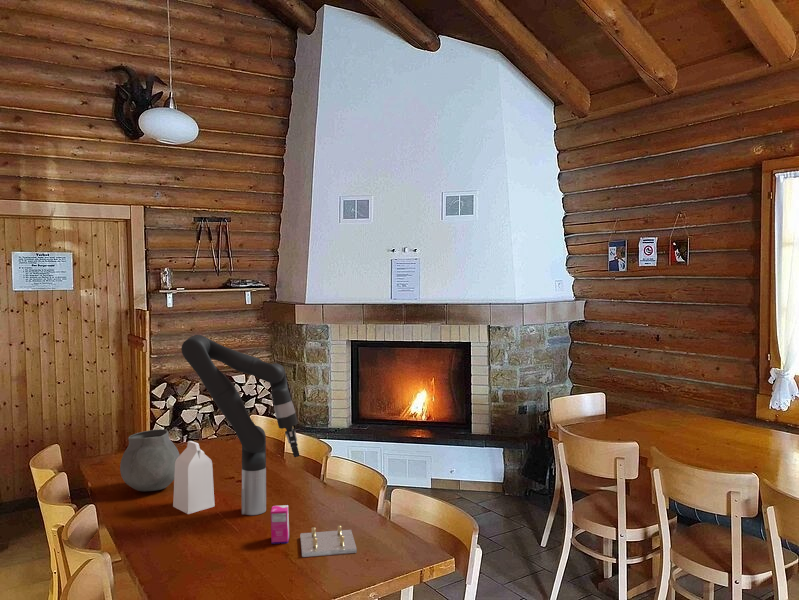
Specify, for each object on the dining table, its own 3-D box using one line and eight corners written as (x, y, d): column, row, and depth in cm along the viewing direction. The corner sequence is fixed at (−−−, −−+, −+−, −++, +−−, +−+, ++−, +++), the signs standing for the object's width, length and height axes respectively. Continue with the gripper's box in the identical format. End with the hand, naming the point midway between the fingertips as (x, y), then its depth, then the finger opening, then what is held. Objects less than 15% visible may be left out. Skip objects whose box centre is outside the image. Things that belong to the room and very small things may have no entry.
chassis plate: (302, 557, 204) (301, 543, 204) (300, 537, 220) (300, 525, 220) (356, 552, 207) (356, 539, 207) (351, 533, 223) (351, 521, 223)
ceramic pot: (136, 480, 283) (135, 425, 283) (189, 480, 283) (188, 426, 282) (109, 498, 259) (108, 439, 258) (167, 499, 258) (166, 439, 257)
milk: (173, 506, 250) (172, 442, 249) (199, 499, 258) (198, 437, 258) (188, 514, 242) (187, 447, 241) (214, 506, 250) (214, 442, 249)
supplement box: (272, 537, 220) (272, 505, 220) (289, 536, 220) (289, 504, 220) (270, 544, 214) (270, 511, 214) (288, 543, 215) (287, 510, 214)
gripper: (275, 414, 248) (285, 453, 248) (276, 419, 234) (287, 461, 234) (293, 408, 249) (303, 447, 250) (296, 414, 236) (307, 455, 236)
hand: (296, 454), depth 242 cm, fingers open, 8 cm apart
